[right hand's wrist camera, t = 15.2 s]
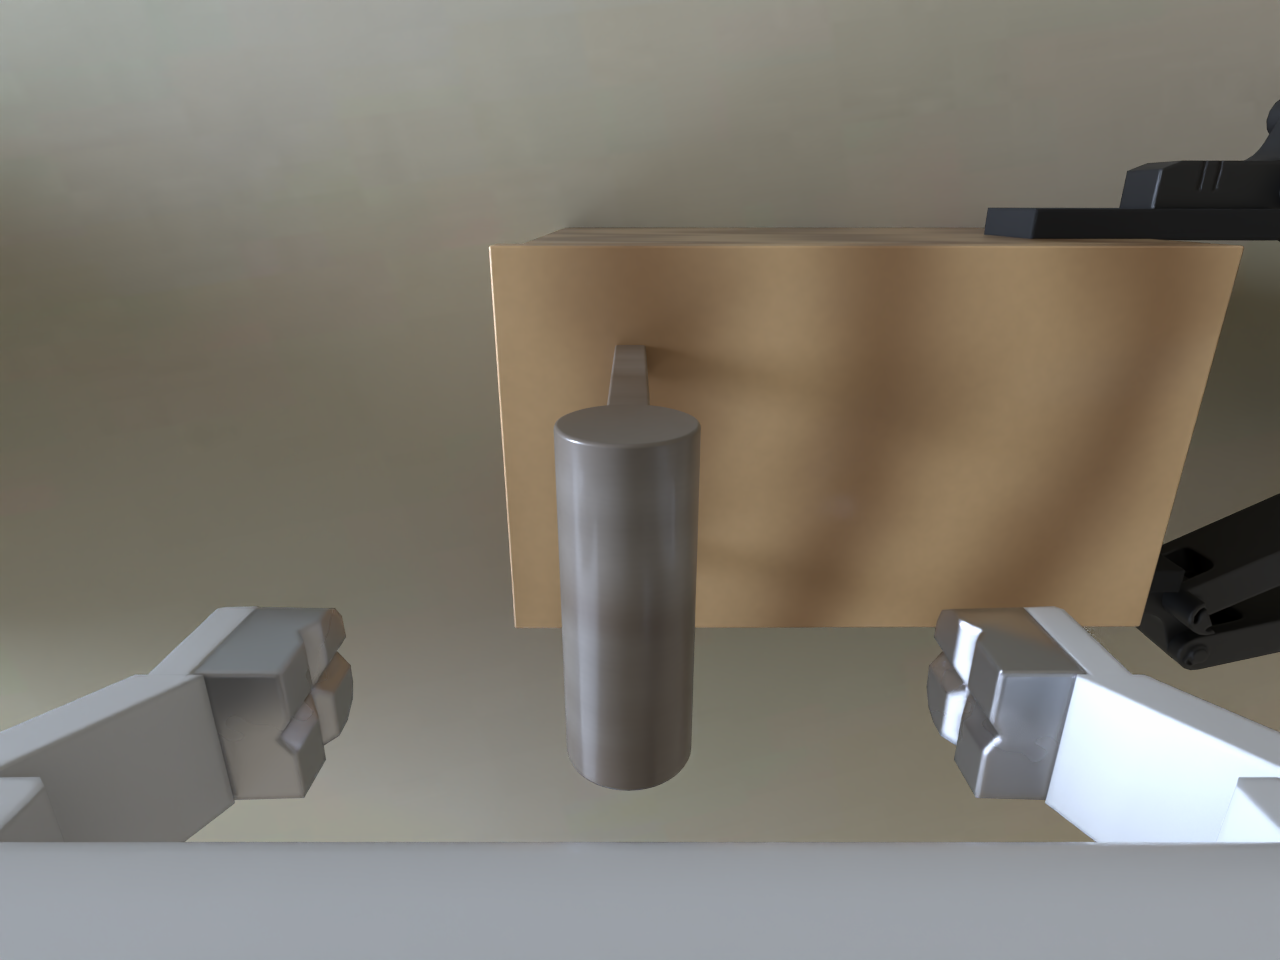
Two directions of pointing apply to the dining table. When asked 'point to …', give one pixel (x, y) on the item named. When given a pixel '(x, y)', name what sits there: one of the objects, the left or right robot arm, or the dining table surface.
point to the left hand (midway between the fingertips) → (977, 406)
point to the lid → (830, 446)
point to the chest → (805, 236)
